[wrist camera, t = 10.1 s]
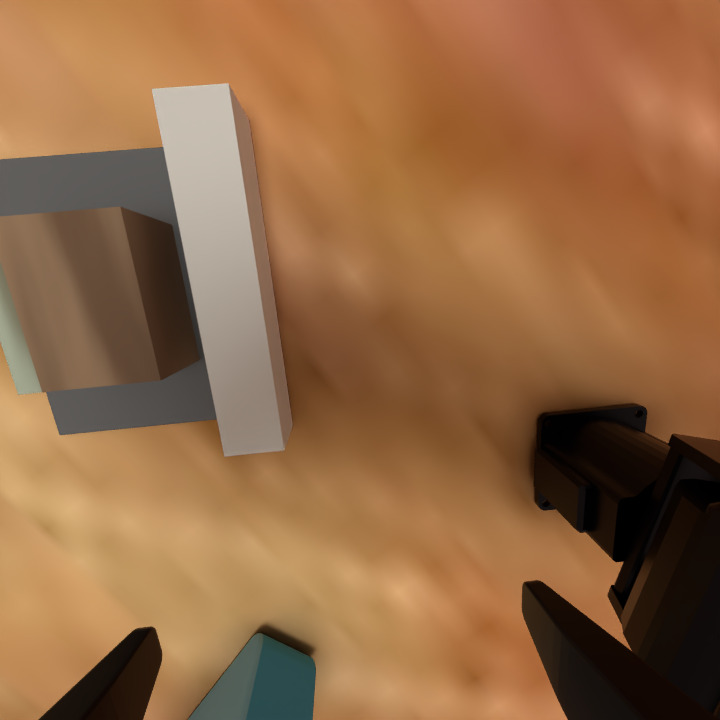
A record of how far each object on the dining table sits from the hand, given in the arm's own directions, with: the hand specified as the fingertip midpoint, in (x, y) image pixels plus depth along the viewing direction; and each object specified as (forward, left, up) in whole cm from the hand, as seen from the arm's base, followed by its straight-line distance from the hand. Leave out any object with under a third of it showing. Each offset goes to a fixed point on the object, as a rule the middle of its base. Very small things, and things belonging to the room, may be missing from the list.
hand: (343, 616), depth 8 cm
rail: (+4, -8, -12) cm, 15 cm away
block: (+7, -8, -10) cm, 15 cm away
